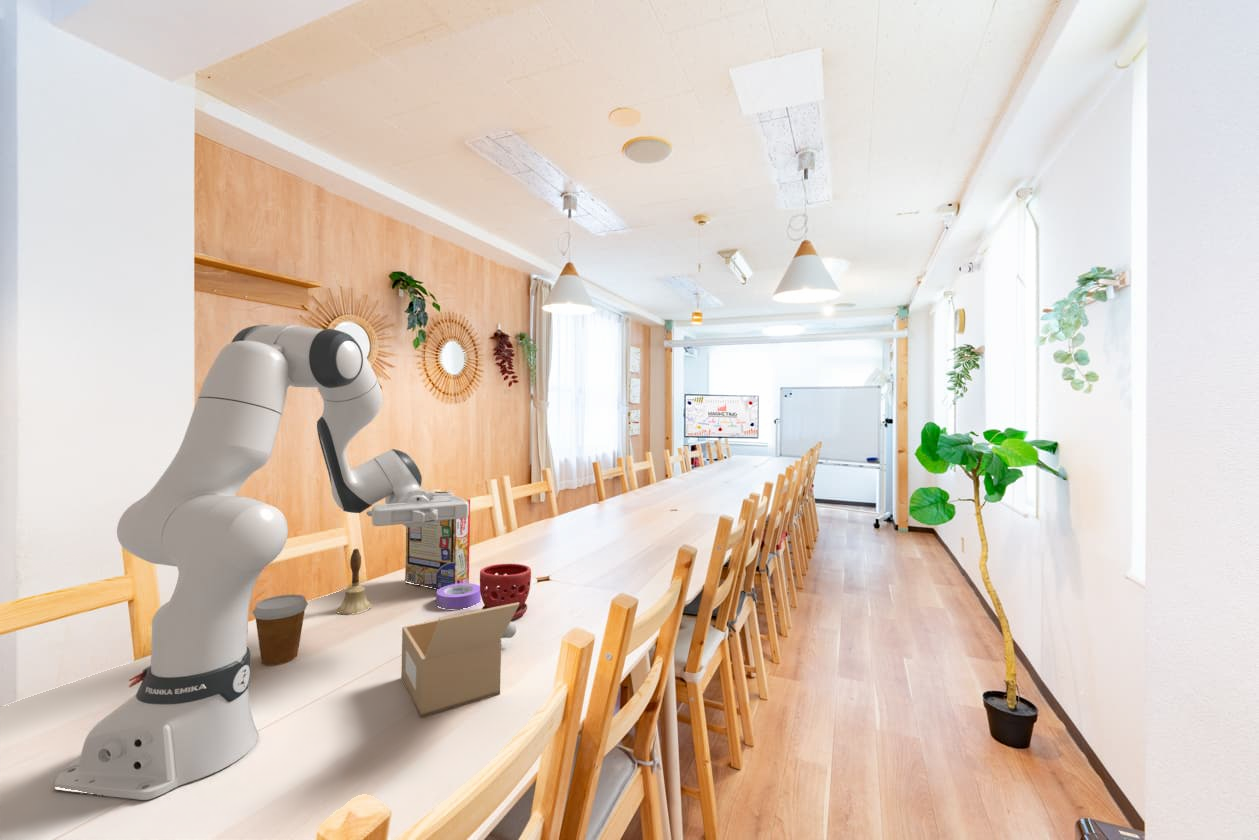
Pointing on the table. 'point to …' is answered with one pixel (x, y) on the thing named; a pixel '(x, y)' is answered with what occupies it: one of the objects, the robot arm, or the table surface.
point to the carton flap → (470, 630)
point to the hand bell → (354, 590)
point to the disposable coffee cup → (279, 627)
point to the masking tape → (458, 596)
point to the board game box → (438, 553)
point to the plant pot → (505, 586)
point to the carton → (447, 672)
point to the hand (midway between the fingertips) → (429, 517)
